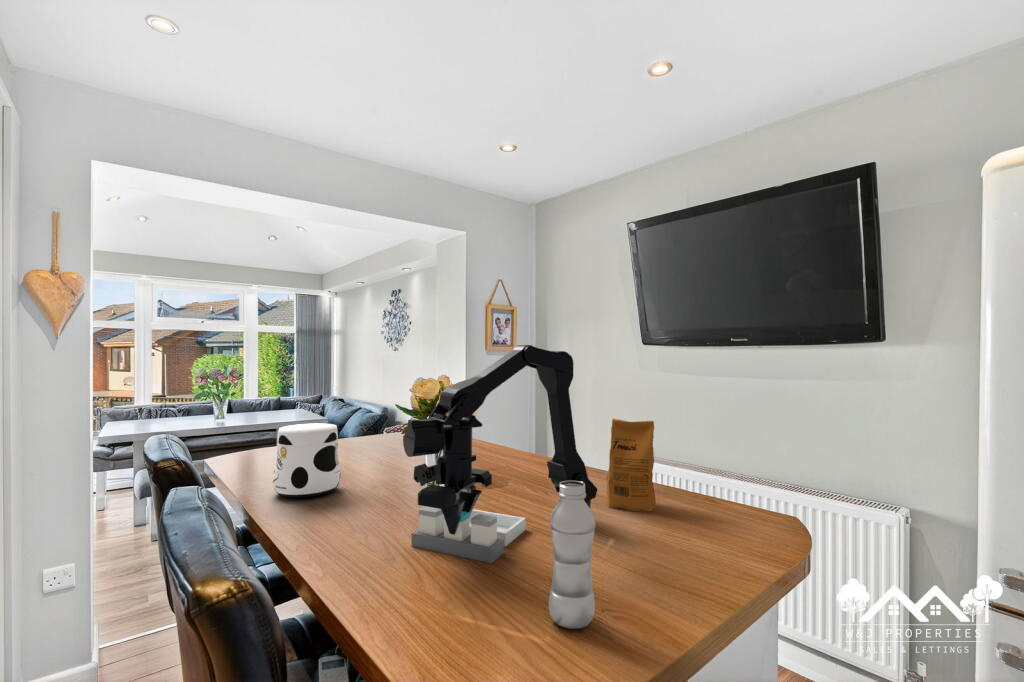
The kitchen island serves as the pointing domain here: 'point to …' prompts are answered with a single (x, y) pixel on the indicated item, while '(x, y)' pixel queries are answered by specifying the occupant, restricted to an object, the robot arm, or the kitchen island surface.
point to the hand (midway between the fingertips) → (456, 531)
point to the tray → (505, 525)
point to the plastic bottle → (572, 558)
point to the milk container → (307, 460)
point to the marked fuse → (459, 528)
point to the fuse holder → (458, 546)
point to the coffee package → (631, 466)
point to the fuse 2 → (484, 530)
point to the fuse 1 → (431, 521)
